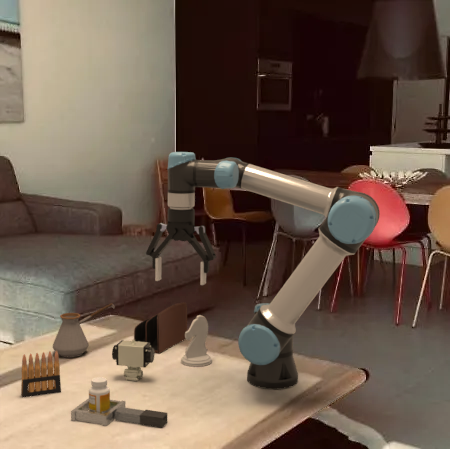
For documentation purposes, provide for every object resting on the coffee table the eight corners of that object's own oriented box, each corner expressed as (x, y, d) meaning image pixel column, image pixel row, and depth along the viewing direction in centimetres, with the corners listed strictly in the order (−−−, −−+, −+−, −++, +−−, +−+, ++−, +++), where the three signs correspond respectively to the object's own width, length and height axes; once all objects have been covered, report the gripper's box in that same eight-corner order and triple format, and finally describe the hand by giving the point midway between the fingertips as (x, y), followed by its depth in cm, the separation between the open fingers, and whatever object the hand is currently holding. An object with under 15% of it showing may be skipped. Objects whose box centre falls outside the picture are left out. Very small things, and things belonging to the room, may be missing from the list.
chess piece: (175, 360, 241) (175, 314, 239) (201, 355, 246) (202, 310, 244) (190, 369, 233) (191, 321, 230) (217, 363, 238) (218, 317, 236)
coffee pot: (60, 361, 237) (60, 315, 235) (47, 351, 247) (46, 307, 245) (122, 350, 249) (121, 306, 247) (107, 341, 259) (106, 299, 257)
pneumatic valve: (150, 383, 219) (150, 343, 218) (111, 380, 222) (111, 340, 220) (155, 377, 225) (155, 338, 223) (118, 373, 227) (118, 335, 225)
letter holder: (187, 338, 264) (188, 299, 262) (159, 354, 246) (159, 312, 244) (162, 334, 268) (163, 296, 266) (133, 350, 251) (133, 308, 249)
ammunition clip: (22, 397, 207) (21, 355, 205) (21, 395, 209) (20, 353, 207) (61, 392, 212) (60, 351, 210) (59, 390, 213) (59, 349, 211)
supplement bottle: (111, 411, 199) (110, 375, 197) (108, 419, 193) (108, 383, 192) (90, 411, 199) (90, 375, 197) (87, 419, 193) (87, 383, 192)
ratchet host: (172, 417, 196) (172, 407, 195) (156, 433, 185) (156, 423, 185) (91, 405, 203) (91, 395, 202) (71, 420, 192) (71, 410, 192)
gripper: (227, 208, 210) (226, 283, 213) (145, 203, 217) (145, 275, 221) (219, 211, 203) (218, 288, 206) (134, 206, 210) (134, 281, 214)
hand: (180, 282), depth 213 cm, fingers open, 13 cm apart
